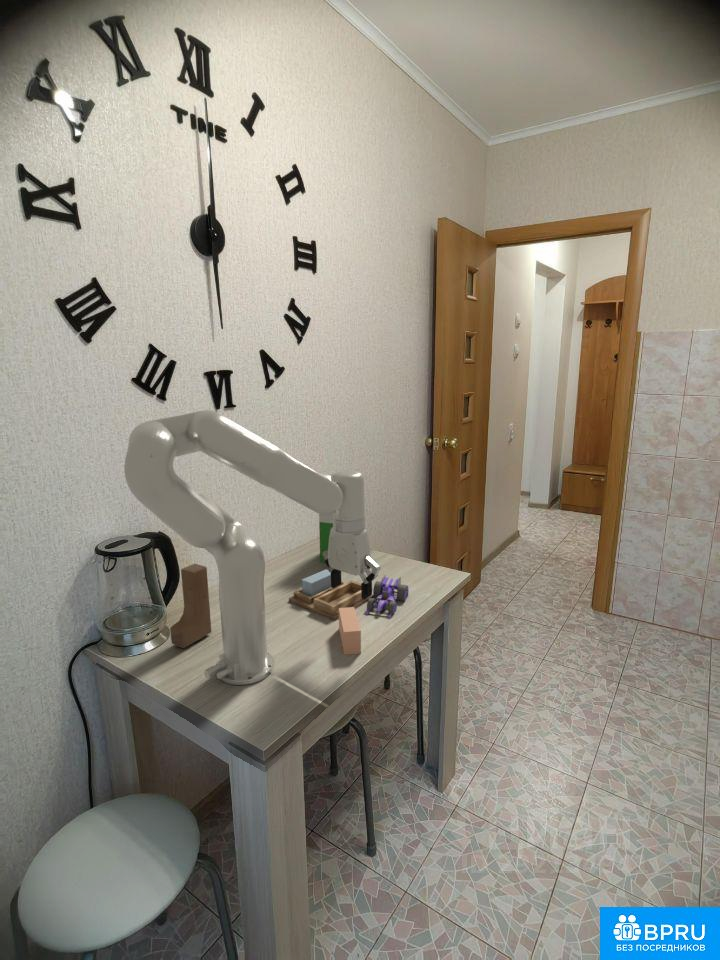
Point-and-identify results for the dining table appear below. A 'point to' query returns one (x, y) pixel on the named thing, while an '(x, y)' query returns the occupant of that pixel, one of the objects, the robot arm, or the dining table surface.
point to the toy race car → (387, 596)
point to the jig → (331, 599)
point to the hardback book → (324, 533)
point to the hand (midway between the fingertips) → (351, 591)
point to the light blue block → (316, 583)
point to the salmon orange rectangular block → (349, 631)
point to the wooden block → (193, 607)
